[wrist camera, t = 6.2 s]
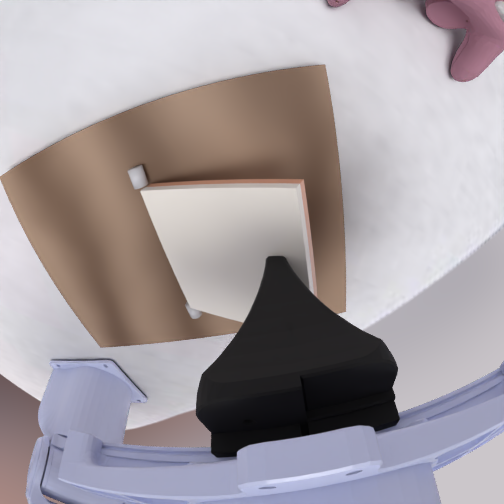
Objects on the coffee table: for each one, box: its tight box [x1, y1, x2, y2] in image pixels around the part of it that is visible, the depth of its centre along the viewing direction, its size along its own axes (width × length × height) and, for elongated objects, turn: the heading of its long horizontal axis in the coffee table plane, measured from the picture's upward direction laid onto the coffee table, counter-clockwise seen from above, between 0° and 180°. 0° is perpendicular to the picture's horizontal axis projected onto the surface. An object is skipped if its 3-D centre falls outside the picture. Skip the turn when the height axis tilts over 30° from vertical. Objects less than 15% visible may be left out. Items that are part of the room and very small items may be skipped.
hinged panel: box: [128, 165, 318, 323], centre depth 14 cm, size 9×10×1 cm
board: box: [0, 65, 346, 347], centre depth 17 cm, size 20×16×1 cm
